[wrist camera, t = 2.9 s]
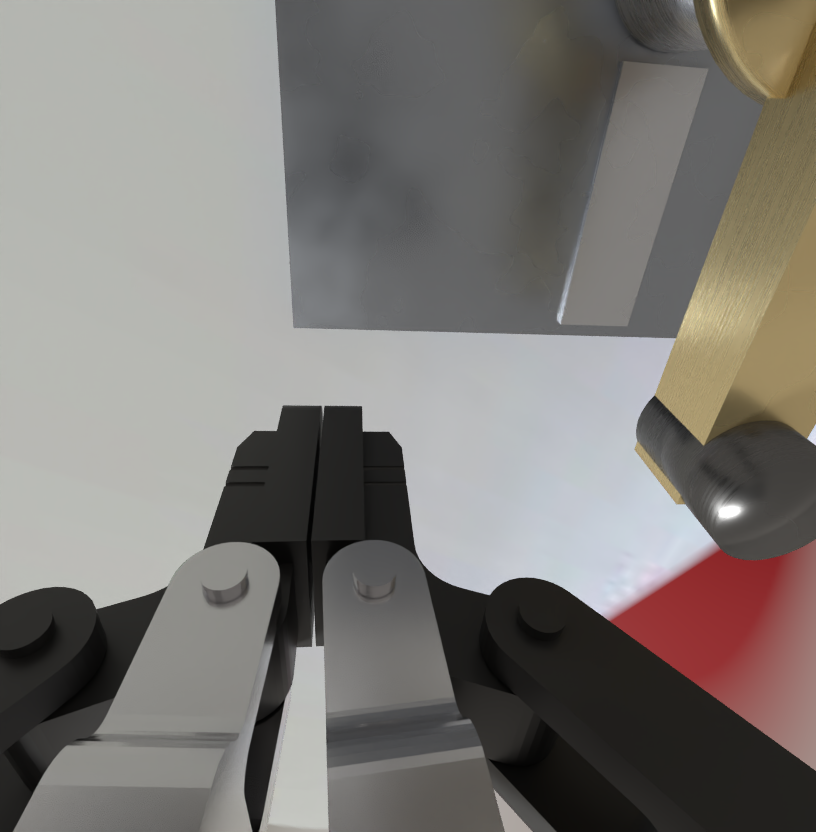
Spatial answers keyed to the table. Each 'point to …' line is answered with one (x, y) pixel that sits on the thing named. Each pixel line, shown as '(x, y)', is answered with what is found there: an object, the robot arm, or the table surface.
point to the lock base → (503, 163)
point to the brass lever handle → (751, 307)
